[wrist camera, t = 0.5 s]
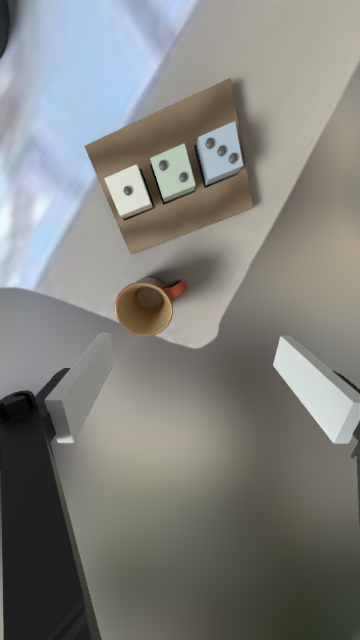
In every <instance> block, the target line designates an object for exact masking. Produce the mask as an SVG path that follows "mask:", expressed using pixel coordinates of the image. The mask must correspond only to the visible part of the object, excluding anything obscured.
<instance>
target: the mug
mask: <svg viewBox="0 0 360 640" xmlns="http://www.w3.org/2000/svg"><path fill="white" fill-rule="evenodd" d="M187 289H188V284H187V282H186V280H185V279H178V280H175V281H172V282H168V283H164V282H163V281H162V280H160V279H157V278H154V277H146V278H143V279H140V280H139V281H137V282H136V283H133V284H130V285H128V286H127V287H125V288H124V289H123V290H122V291H121V292H120V293H119V295H118V297H117V299H116V303H115V312H116V316H117V318H118V320H119V322H120V324H121V325H122V326H123V327H124V328H125V329H126V330H128V331H129V332H131V333H133V334H135V335H139V336H152V335H156V334H158V333H160V332H162V331H163V330H164V329H165V328H166V327H167V326H168V325H169V323H170V321H171V318H172V314H173V306H172V303H171V302H172V301H174V300H175V299H176V298H177V297H178V296H179V295H181V294H182V293H184V292H185V291H186V290H187Z"/></svg>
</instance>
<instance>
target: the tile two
mask: <svg viewBox="0 0 360 640" xmlns="http://www.w3.org/2000/svg"><path fill="white" fill-rule="evenodd" d="M150 160H151V163H152V166H153V169H154V172H155V175H156V178H157V181H158V184H159V187H160V191H161V194H162V197H163V200H164V202H167V201H169V200H172V199H174V198H177V197H179V196H182V195H184V194H187V193H189V192H191V191H194V188H195V181H194V178H193V174H192V170H191V166H190V163H189V159H188V155H187V151H186V148H185V144H181V145H179V146H177V147H175V148H172V149H170V150H168V151H165V152H163V153H161V154H159V155H156V156H154V157H152V158H150Z"/></svg>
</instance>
